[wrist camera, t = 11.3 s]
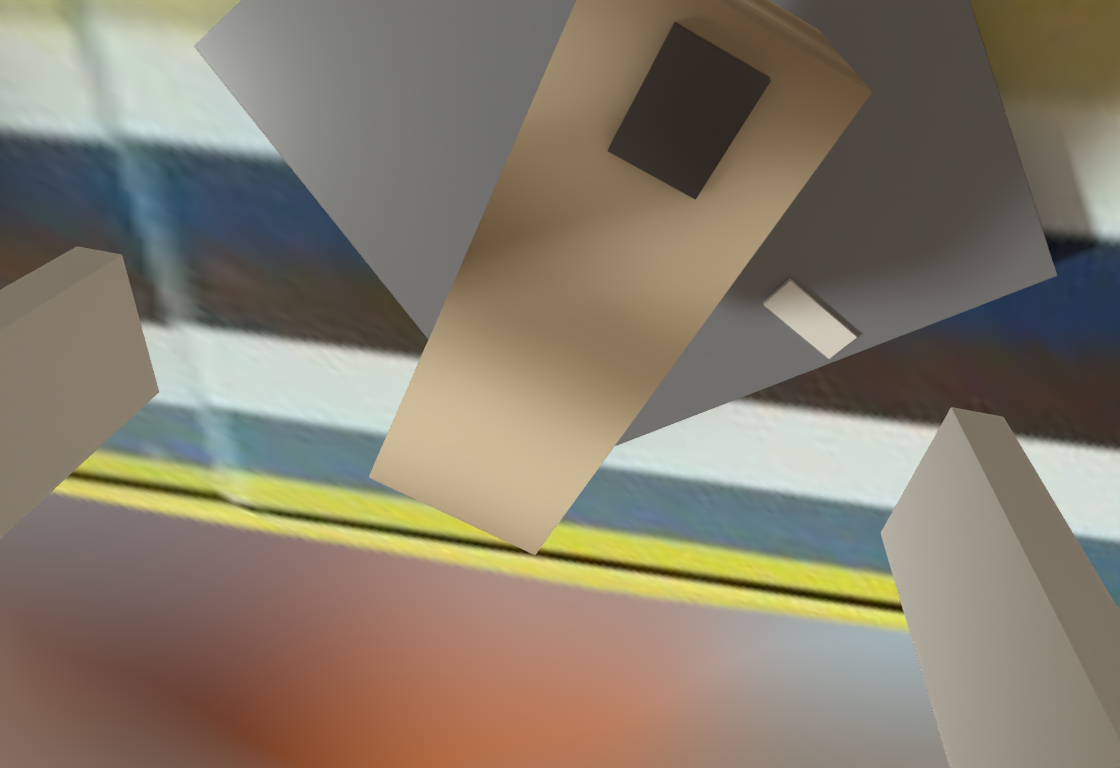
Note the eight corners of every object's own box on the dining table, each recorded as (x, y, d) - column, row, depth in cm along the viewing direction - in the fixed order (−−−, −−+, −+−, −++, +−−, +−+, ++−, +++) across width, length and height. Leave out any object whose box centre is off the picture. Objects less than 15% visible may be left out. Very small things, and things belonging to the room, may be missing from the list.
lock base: (544, 453, 32) (514, 554, 27) (220, 38, 24) (94, 74, 19) (1038, 255, 23) (1127, 350, 18) (791, -500, 15) (829, -690, 10)
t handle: (573, 409, 22) (532, 564, 17) (445, 345, 21) (363, 486, 16) (818, 30, 15) (876, 96, 10) (639, -78, 14) (602, -66, 9)
